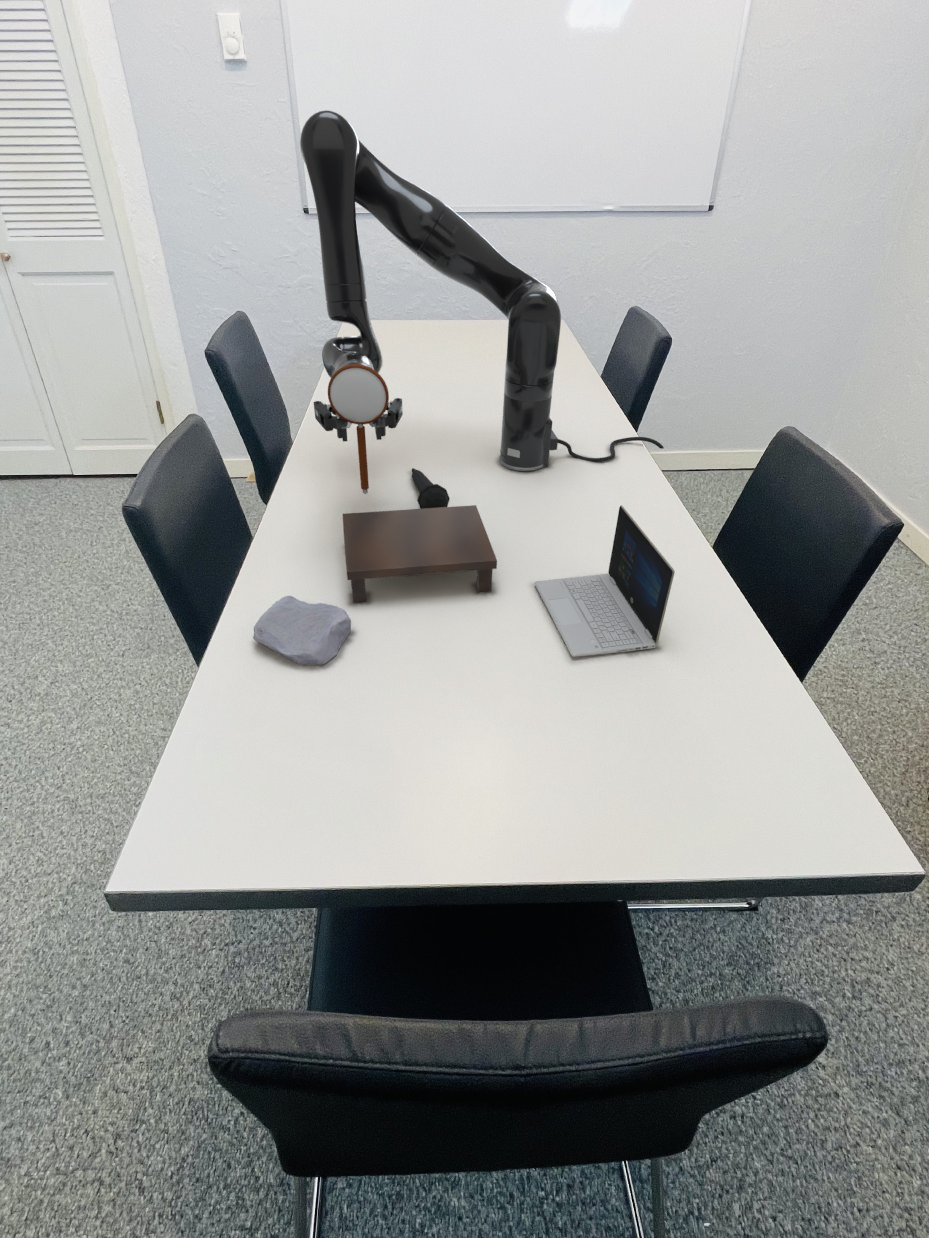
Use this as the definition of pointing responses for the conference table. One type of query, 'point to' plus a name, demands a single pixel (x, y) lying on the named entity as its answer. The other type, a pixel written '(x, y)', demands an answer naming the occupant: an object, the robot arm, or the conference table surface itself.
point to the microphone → (429, 492)
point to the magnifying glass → (358, 404)
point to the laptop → (613, 597)
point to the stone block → (303, 630)
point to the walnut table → (416, 545)
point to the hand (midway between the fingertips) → (361, 434)
